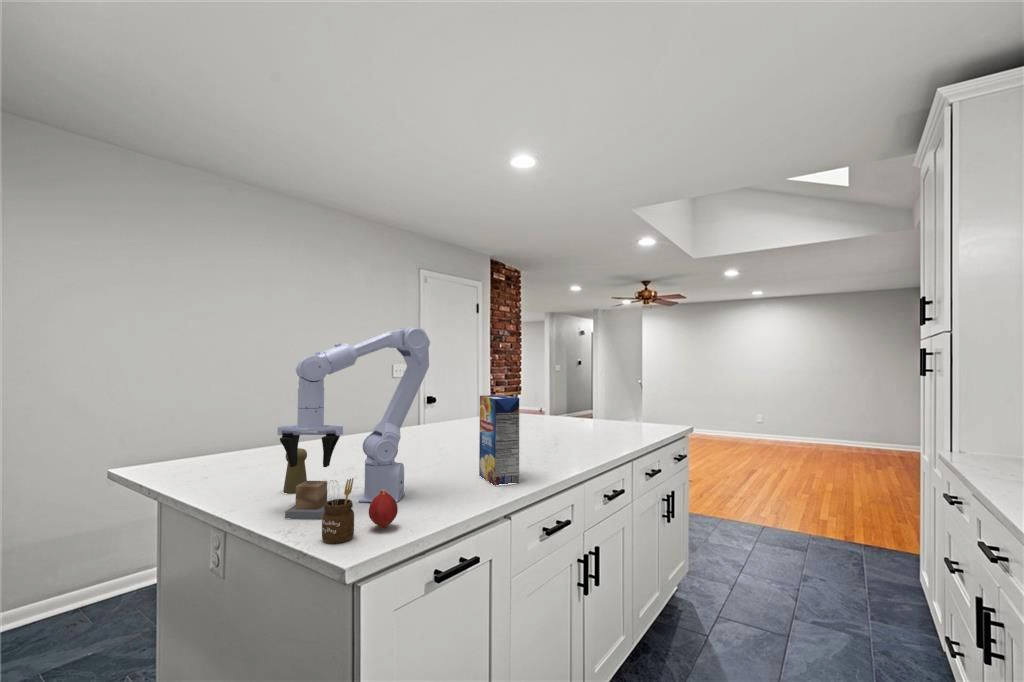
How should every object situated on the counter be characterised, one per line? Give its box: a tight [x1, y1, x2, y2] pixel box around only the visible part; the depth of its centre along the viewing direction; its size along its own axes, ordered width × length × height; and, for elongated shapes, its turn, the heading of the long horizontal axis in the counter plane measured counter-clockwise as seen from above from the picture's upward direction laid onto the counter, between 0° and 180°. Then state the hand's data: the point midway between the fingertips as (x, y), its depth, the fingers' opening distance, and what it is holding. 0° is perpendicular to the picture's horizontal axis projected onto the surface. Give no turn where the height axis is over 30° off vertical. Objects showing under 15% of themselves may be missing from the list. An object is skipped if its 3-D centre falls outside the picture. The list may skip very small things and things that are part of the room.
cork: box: [282, 447, 308, 495], centre depth 127 cm, size 6×6×11 cm
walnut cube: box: [295, 480, 328, 509], centre depth 109 cm, size 5×5×5 cm
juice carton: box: [478, 394, 520, 486], centre depth 140 cm, size 12×8×24 cm, turn 25°
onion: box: [368, 490, 398, 529], centre depth 100 cm, size 6×6×8 cm
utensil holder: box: [321, 477, 355, 545], centre depth 94 cm, size 6×6×12 cm
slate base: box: [284, 500, 329, 520], centre depth 109 cm, size 8×8×2 cm
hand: (309, 466), depth 112 cm, fingers open, 7 cm apart
